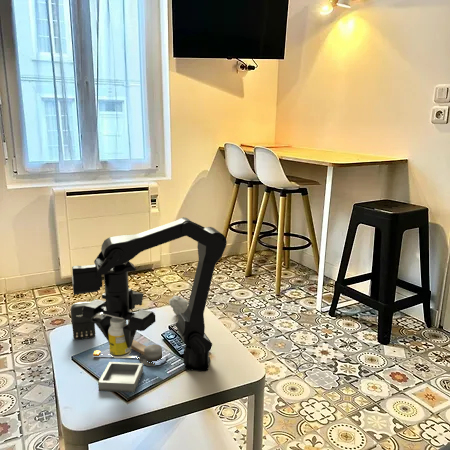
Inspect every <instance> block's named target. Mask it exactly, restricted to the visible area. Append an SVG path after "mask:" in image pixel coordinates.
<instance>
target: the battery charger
mask: <svg viewBox="0 0 450 450" xmlns="http://www.w3.org/2000/svg"><path fill="white" fill-rule="evenodd" d="M90 302H91V301H81V302H74V303H73V304H72V305H71V306H70V320H71V328H72V338H73V339H74V340H76V341H77V340H86V339H92V338H95V336H96V324H95V323H94V322H92V319H94V317H93V318H91V319H89V318H85V317H83V315H82V309H83V307H84V306H85V305H87V304H88V303H90Z"/></svg>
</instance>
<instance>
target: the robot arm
mask: <svg viewBox="0 0 450 450" xmlns="http://www.w3.org/2000/svg"><path fill="white" fill-rule="evenodd" d="M183 237H188V238H190V239H192V240H193V241H195V242H197V254H198V261H197V265H196V269H195V274H194V279H193V283H192V286H191V290H190V294H189V301H188V302H189V304H188V307H187V309H186V311H185V312H184V313H180V312H179V314H178V315H177V322H176V323H175V327H176V328H177V333H178V334H179V336H180V338H181V339H182V341H183V342H184V344H185V347H184V348H183V365H184V370H185V371H197V372H208V371H209V367H210V362H211V357H210V351H211V349H212V347H213V342H212V341H211V340H210V338H209V337H208V336H207V334H206V333H205V328H206V327H205V325H206V324H205V316H204V313H205V309H206V304H207V301H208V298H209V293H210V289H211V283H212V280H213V275H214V272H215V267H216V264H217V263H218V262H219V261H220V260H221V258H222V257H223V254H224V252H225V250H226V247H227V244H228V243H227V242H228V240H227V238H226V236H225V235H224V234H223V233H222V232H220V231H219V230H217V229H216V228H215V227H212V226H206V227H204V226H203V225H201V224H198V223H196V222H194V221H192V220H191V219H189V218H187V217H180V218H178V219H177V220H174V221H171V222H168V223H165V224H162V225H158V226H157V227H154V228H153V227H152V228H151V229H148V230H145V231H143V232H139V233H135V234H122V235H114V236H110V237H107V238H105V239H104V240H103V241H102V244H101V248H100V252H99V253H98V255H97V256H96V258H95V259H94V260H93V263H94V264H86V265H72V267H71V269H72V272H71V273H72V276H71V282H72V283H71V284H72V293H73V296H77V295H82V294H91V293H97V292H99V291H101V288H103V281H104V292H103V293H102V294H101V298H102V299H103V300H102V299H94V300H92V301H89V302H90V303H88V304H87V305H85V306H84V307H83V309H82V315H83V317H85V318H89V319H91V318H93V317H94V319H92V322H94V323H95V326H97V328H99V330H100V332H102V335H103V336H104V337H105V339H106V340H107V342H108V343H109V335H108V329H109V327H110V326H111V324H110V319H111V318H112V317H115V318H119V319H125V320H126V321H127V325H126V326H125V327H123V332H124V336H125V341H126V344H127V347H128V348H129V347H131V345H132V342H133V340H135V336H136V332H137V331H139V332H143V331H145V330H147V329H148V328H149V327H150V326H152V325H153V324H155V322H156V314H155V312H154V311H151V310H147V309H142V308H141V309H140V310H138V311H137V312H131V310H134V309H135V308H136V306H142V304H143V299H144V293H143V292H139V291H134V290H133V289H132V288H130V287H129V272H135V271H137V269H136V266H135V265H134V263H132V262H130V261H131V260H133V259H134V258H136V257H137V256H138V255H139V254H140V253H142V252H144V251H148V250H149V249H152V248H155V247H158V246H162V245H164V244H166V243H169V242H172V241H175V240H178V239H180V238H183ZM102 277H103V278H102Z"/></svg>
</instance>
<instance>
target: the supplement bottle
mask: <svg viewBox="0 0 450 450" xmlns="http://www.w3.org/2000/svg"><path fill="white" fill-rule="evenodd" d="M110 324H111V326H110V327H109V329H108V335H109V342H108V343H109V345H108V346H109V347H108V348H109V355H111V356H112V357H114V358H113V359H125V358H124V357H126V356H130V354H131V352H132V349H131V347H129V348H128V347H127V344H126V341H125V336H124V332H123V327H125V326H126V325H127V324H128V320H125V319H119V318H115V317H112V318H111V319H110Z"/></svg>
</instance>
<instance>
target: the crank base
mask: <svg viewBox="0 0 450 450" xmlns="http://www.w3.org/2000/svg"><path fill="white" fill-rule="evenodd" d="M100 354H101V350H94V351H93V354H92V355H93V356H99V355H100ZM101 355H102V354H101ZM137 356H138V355H128V356H126V357H124V358H123V359H125V358H135V357H136V358H137ZM139 356H140V357H138V358H139V359H138V358H137V359H136V360H138V361H139V363H140V362H141V363H143V364H144V365H143V366H145V365H146V366H145V367H150V366H153V367H155V366H154V365H155V363H154V364H153V362H152V361H148V362H147V360H146V359H145V358H144V355H143V354H140V355H139ZM149 362H150V363H149ZM151 362H152V363H151Z"/></svg>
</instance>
